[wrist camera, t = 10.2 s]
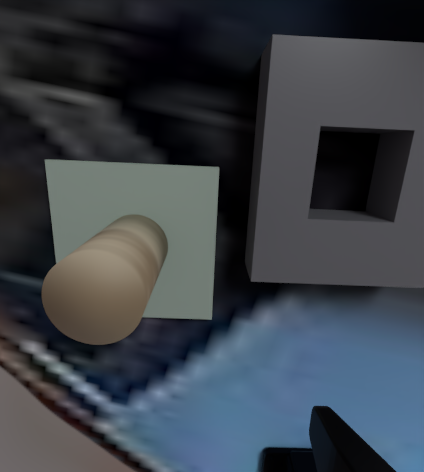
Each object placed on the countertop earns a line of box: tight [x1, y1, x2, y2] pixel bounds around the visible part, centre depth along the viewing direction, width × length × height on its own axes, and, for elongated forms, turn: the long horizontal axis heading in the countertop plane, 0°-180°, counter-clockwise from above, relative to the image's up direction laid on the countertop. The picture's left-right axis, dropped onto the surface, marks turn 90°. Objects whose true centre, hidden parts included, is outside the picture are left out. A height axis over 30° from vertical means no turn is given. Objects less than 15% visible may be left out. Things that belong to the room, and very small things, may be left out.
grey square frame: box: [245, 35, 424, 288], centre depth 16 cm, size 12×10×3 cm
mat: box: [45, 159, 219, 320], centre depth 19 cm, size 10×10×1 cm
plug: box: [42, 214, 168, 345], centre depth 15 cm, size 4×4×7 cm
